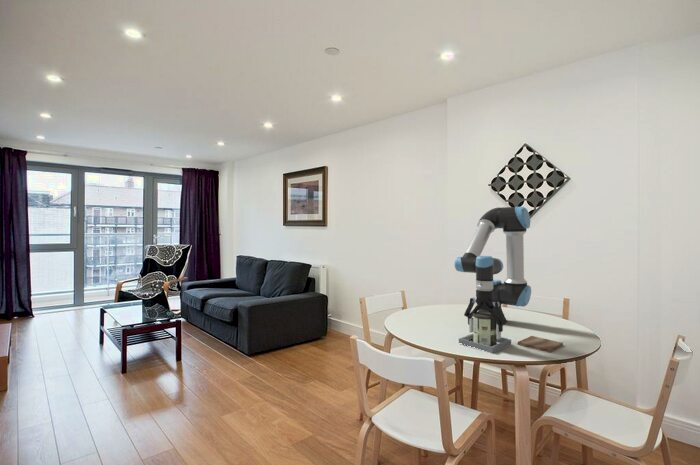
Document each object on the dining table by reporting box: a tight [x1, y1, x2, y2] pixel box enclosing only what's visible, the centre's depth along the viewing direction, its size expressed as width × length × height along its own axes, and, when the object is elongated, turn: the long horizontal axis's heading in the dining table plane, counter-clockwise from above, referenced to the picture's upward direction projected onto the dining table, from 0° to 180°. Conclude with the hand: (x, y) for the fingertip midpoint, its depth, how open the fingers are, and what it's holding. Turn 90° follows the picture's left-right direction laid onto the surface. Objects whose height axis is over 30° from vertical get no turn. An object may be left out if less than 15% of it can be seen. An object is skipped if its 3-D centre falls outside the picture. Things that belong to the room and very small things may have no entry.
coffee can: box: [472, 311, 498, 347], centre depth 168 cm, size 10×10×14 cm
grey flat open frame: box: [458, 332, 512, 354], centre depth 168 cm, size 17×17×2 cm
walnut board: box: [517, 335, 564, 353], centre depth 166 cm, size 14×14×1 cm
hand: (484, 335), depth 168 cm, fingers open, 13 cm apart
